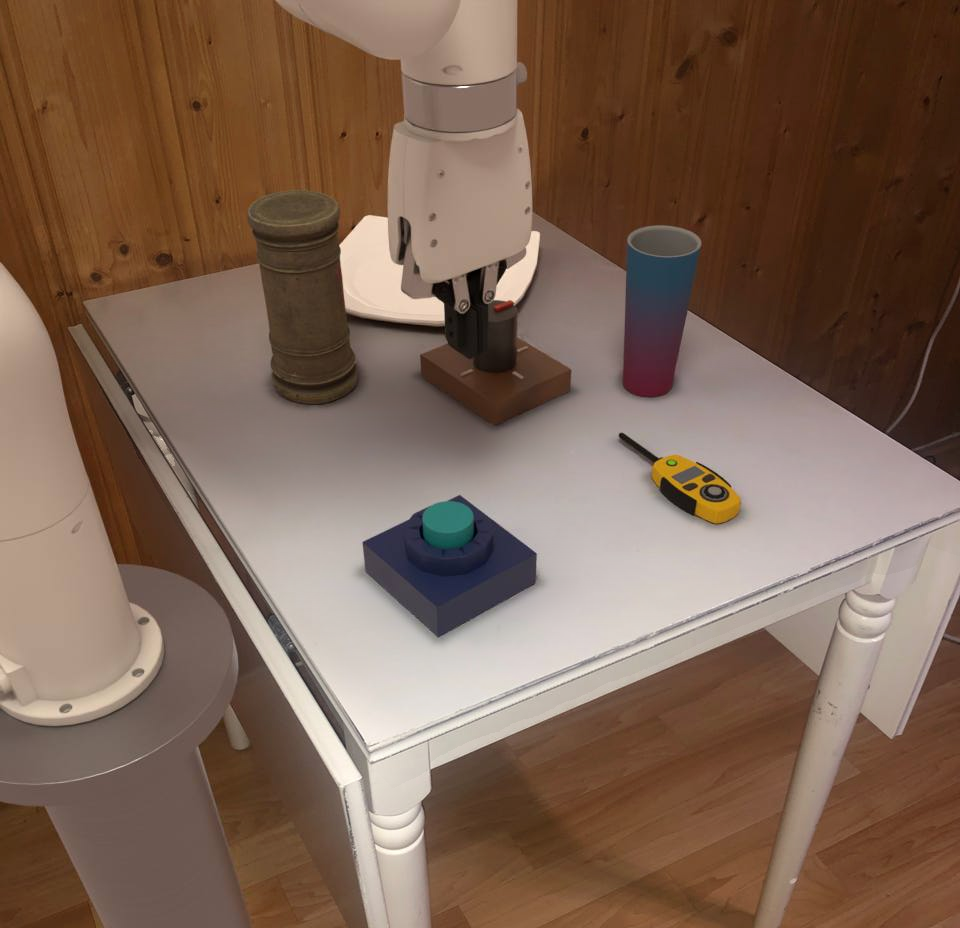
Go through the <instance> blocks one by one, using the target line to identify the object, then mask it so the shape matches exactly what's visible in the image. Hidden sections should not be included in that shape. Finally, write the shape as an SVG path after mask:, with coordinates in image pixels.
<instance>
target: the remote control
mask: <svg viewBox="0 0 960 928" xmlns="http://www.w3.org/2000/svg"><path fill="white" fill-rule="evenodd" d="M618 438H619V439H620V440H621V441H623V442H625V443H626V444H627V445H628V446H630V447H631V448H633V449H634V450H636V451H637V452H638V453H640V454H641V455H643V456H644V457H646V458H647V459H648V460H650V461H651V462H652V463H653V465H652V467H651V469H652V470H651V479H652V480H653V482H654V483H655V484H656V486H657V487H658V488H659V491H660V492H661V493H662V494H663V496H664V497H665V498H667V499H668V500H669V501H670V502H671V503H672V504H674V505H675V506H677V507H678V508H680V509H681V510H683V511H685V512H686V513H688V514H690V515H691V516H698V517H699V518H701V519H703V520H706V521H708V522H710V523H713V524H722V523H725V522H727V521H730V520H731V519H734V518H735V517H736V516H737V515H738V514H739V513H740V510H741V507H742V506H741V505H742V499H741V497H740V496H739V494H738V493H737V492H736V490H734V488H732V485H731V484H730V483H729V482H728V481H727V480H726V479H725V478H724V477H723V476H721V475H720V474H719V473H717V472H716V471H714V470H713V469H711V468H709V467H708V466H706V465H705V464H702V463H701V462H698V461H696V462H695V461H693V460H691V459H688V458H687V457H684V456H682V455H679V454H670V455H667V456H664V457H658V456H656V455H655V454H654V453H652V452H651V451H649V450H648V449H647V448H645V447H644V446H642V445H641V444H640V443H638V442H637V441H635V440H634V439H632V438H631V437H630V436H628V435H627V434H625V433H624V432H619V433H618Z"/></svg>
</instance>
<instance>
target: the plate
mask: <svg viewBox="0 0 960 928" xmlns="http://www.w3.org/2000/svg"><path fill="white" fill-rule="evenodd" d="M540 241H541V232H539V231H537V230H531V236H530V241H529V243H528V245H527V246H526V255H525V257H524V258H523V259H522V260H521V261H519V262H518V263H516V264H515V265H513V266H512V267H510V268H509V269H506V271H505V273H504V274H503V276H502V278H501V279H500V281H499V282H498V284H497V286H496V295H495V298H494V300H500V301H506V302H507V301H509V300H511V301H513V302H514V306H516V305H517V304H518V303H519V302H520V301H521V300H522V299H523V298H524V296H525V294H526V292H527V290H528V289H529V287H530V285H531V283H532V281H533V278H534V276H535V275H534V274H535V272H536V269H537V267H538V259H539V258H538V257H539V250H540ZM339 246H340V249H341V254H340V263H341V272H342V279H343V291H344V300H345V310H346V315H347V314H348V315H350V316H354V317H357V318H361V319H368V320H375V321H383V322H388V323H389V322H391V323H397V324H398V323H399V324H409V325H417V326H418V325H419V326H429V327H445V316H444V303H443V302H442V301H440V300H438V299H437V298H436V297H431V298H423V299H412V298H411V297H409V296H407V295H406V294H404V293H403V292H402V291H401V281H402V274H403V266H404V265H398V264H395V263H394V262H393V261H392V260H391V256H390V250H389V239H388V217H385V216H380V215H379V216H378V215H371V214H368V215H365V216H364V217H363V218H362V219H361V220H360V221H359V222H358V223H357V224H356V226H355V227H354V228H353V229H352V230H351V231H350V232H349V234H348V235H347V236H346V237H345V238H344V239H343V240H342V241H341V243H340V244H339Z"/></svg>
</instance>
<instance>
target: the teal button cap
mask: <svg viewBox="0 0 960 928" xmlns="http://www.w3.org/2000/svg"><path fill="white" fill-rule="evenodd" d="M427 507H428V508H427ZM427 507H426V508H427V509H426V510H425V511H424V513H423V516H422V520H423V536H424V539H425V541H426V542H427V543H428V544H429V545H431V546H435V547H439V548H443V549H449V548H459V547H462V546H464V545H466V544H468V543H469V542H470V541H471V540H472V538H473V535H474V516H473V512H472V511H471V509H470V508H469V507H467V506H466V505H464V504H462V503H459V502H454V501H448V500H444V501H438V502H436V503H433V504H431V505H429V506H427Z"/></svg>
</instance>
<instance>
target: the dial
mask: <svg viewBox="0 0 960 928" xmlns="http://www.w3.org/2000/svg"><path fill="white" fill-rule="evenodd" d="M518 316H519V311H518V308H517V306H516V305H515V306H514V302H513V301H511V300H509V301H507V302H506V301H500V300H493V301H492V302H491V303H489V304H488V351H487V353H485V354H482V355H480V354H477V356H476V357H475V358H473V363H474V365H475V366H476V367H477V368H479V369H481V370H483V371H487V372H503V371H507V370H509V369H511V368H513V367H514V366H515V364H516V362H517V337H518V322H519V321H518Z"/></svg>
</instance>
